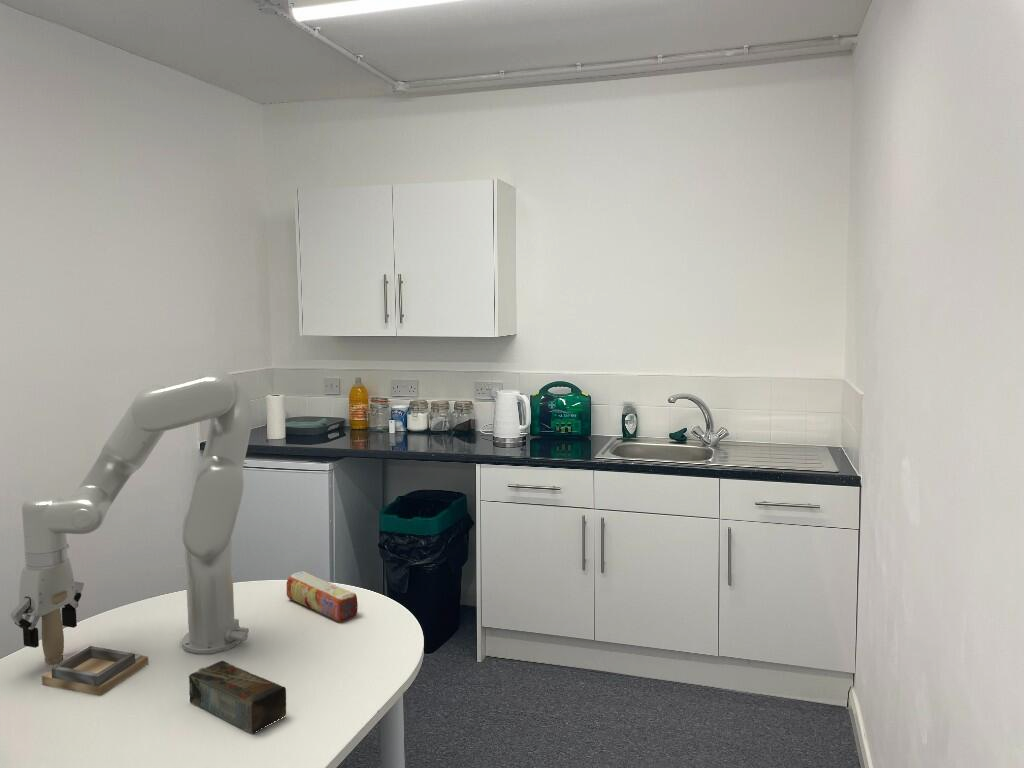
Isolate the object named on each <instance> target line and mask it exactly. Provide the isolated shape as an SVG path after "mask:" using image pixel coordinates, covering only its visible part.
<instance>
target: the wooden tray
mask: <svg viewBox="0 0 1024 768" xmlns="http://www.w3.org/2000/svg"><path fill="white" fill-rule="evenodd" d="M146 665H147V666H148V665H149V656H147V655H142V654H138V653H135V652H129V651H123V650H117V649H111V648H106V647H105V648H104V647H98V646H92V645H90V646H88V647H85V649H82V650H80V651H79V652H78V653H77V652H76V654H74V655H73V656H69V658H67V659H64V660H63V661H62V662H60V663H59V664H55V666H53V667H51V668H50V669H51V670H50V671H48V672H46V673H44V674H43V675H41V685H43V686H49V687H51V688H52V687H53V688H58V689H63V690H64V689H65V690H67V691H68V690H69V691H73V692H80V693H84V694H91V695H96V696H103V695H104V694H105V693H107V692H108V691H110V690H112V689H113V688H115V687H116V686H118V685H119V684H121V683H122V682H124V681H125V680H127V679H128V678H130V677H131V676H133V675H135V674H136V673H138V672H140V671H141V670H143V669H144V668H145V667H147V666H146Z"/></svg>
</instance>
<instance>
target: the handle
mask: <svg viewBox="0 0 1024 768" xmlns="http://www.w3.org/2000/svg"><path fill="white" fill-rule="evenodd" d="M66 598H67V591H65V592H63V593H61V594H59V595H57V596H55V597H53V598H52V604H55V605H57V604H59V603H61V602H62V601H64V600H65V599H66ZM63 627H64V626H63V625H62V611H61V608H58V609H56V610H54V611H52V612H50V613H48V614H46V615H44V616H41V643H42V644H41V645H42V646H41V647H42V651H43V652H42V653H43V655H44V661H45V663H46V664H47V665H48V666H53V665H58V664H60V663H61V662H63V661H64V657H65V656H64V649H65V647H64V646H65V637H64V635H65V633H64V628H63Z"/></svg>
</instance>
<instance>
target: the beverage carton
mask: <svg viewBox="0 0 1024 768" xmlns="http://www.w3.org/2000/svg"><path fill="white" fill-rule="evenodd" d="M188 675H189V676H188V685H189V688H188V689H189V691H188V692H189V693H188V695H189V703H190V704H192V705H194V706H197V707H198V708H200V709H202V710H203V709H204V711H205V710H206V711H205V712H207V711H208V712H207V713H210V714H212V715H214V716H216V717H218V718H219V719H221V720H223V721H226V722H229V723H230V724H232V725H233V726H234V725H235V726H236V727H238V728H240V727H241V729H242V730H244V729H245V730H244V731H246V730H247V731H246V732H249V733H250V732H251V733H250V734H252V733H254V734H256V733H257V732H256V731H258V730H260V729H261V728H263V729H265V728H266V727H265V726H267V725H269V724H271V723H273V722H274V721H277V720H278V719H281V718H282V717H284V716H285V715H286V716H287V689H286V686H282V685H280V684H279V683H276V682H273V681H271V680H269V679H266V678H264V677H261V676H259V675H256V674H253V673H251V672H249V671H248V670H244V669H243V668H240V667H239V666H235V665H233V664H230V663H229V662H228V661H224V660H220V661H217V662H214V663H213V664H211V665H209V666H206V667H201V668H199V669H198V670H197V671H194V672H192V673H190V674H188ZM281 720H282V719H281ZM277 722H278V721H277ZM273 724H274V723H273ZM269 726H270V725H269ZM264 727H265V728H264ZM267 727H268V726H267ZM260 731H261V730H260ZM255 732H256V733H255ZM258 732H259V731H258Z"/></svg>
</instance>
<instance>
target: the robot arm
mask: <svg viewBox="0 0 1024 768" xmlns="http://www.w3.org/2000/svg"><path fill="white" fill-rule="evenodd" d="M208 420H210V421H209V427H208V432H207V436H206V441H205V445H204V450H203V454H202V457H201V460H200V463H199V466H198V468H197V470H196V473H195V481H194V486H193V491H192V495H191V500H190V503H189V508H188V510H187V511H186V513H185V515H184V517H183V523H182V534H181V537H182V538H181V539H182V545H183V546H184V557H185V584H186V604H187V605H186V606H187V625H188V626H187V627H188V632H187V633H185V634H184V635H183V636H182V638H181V641H180V644H181V647H182V649H183V650H184V651H186V652H188V653H193V654H199V655H200V654H203V655H204V654H205V655H207V654H215V653H219V652H223V651H228V650H229V649H231V648H233V647H235V646H236V645H238V644H239V643H241V642H246V641H247V639H248V636H249V635H248V634H249V633H250V629H249V628H248V627H240V620H239V619H238V618H235V599H234V578H233V577H234V575H233V570H234V567H233V548H232V547H233V545H232V541H233V539H232V537H233V533H234V530H235V526H236V522H237V517H238V513H239V510H240V507H241V503H242V498H243V494H244V493H243V492H244V487H245V486H244V485H245V484H244V483H245V482H244V470H243V469H244V465H245V464H244V463H245V459H246V456H247V455H246V454H247V452H248V447H249V442H250V441H249V440H250V435H251V431H252V427H253V426H252V425H253V411H252V405H251V401H250V399H249V396H248V394H247V392H246V391H245V389H244V387H243V386H242V384H241V383H240V382H238V380H237V379H236V378H234V377H233V376H232V375H231V374H230V373H228V372H226V371H224V370H220V369H217V368H213V369H212V368H210V369H207V370H204V371H202V372H201V373H200V374H198V375H197V377H196V378H195V380H190V381H187V382H183V383H179V384H176V385H172V386H168V387H167V386H164V385H162V384H161V385H160V384H150V385H148V386H145V387H144V388H143V389H141V390H140V392H138V394H137V395H136V396H135V398H134V399H133V401H132V402H131V404H130V406H129V407H128V408H127V410H126V411H125V413H124V415H123V416H122V418H121V419H120V421H119V422H118V423H117V425H116V426H115V428H114V429H113V431H112V432H111V433H110V435H109V437H108V438H107V440H106V441H105V443H104V444H103V446H102V448H101V450H100V453H99V455H98V457H97V459H96V460H95V462H94V463H93V465H92V467H91V468H90V470H89V471H88V472H87V474H86V476H85V477H84V479H83V480H82V482H81V483H80V485H79V486H78V488H77V489H76V490H75V491H74V494H73V495H72V496H71V498H70V499H66V500H64V499H63V497H61V496H59V495H57V494H56V495H55V494H40V495H36V496H32V497H29V498H27V499H26V500H25V501H24V502H23V503H22V506H21V512H22V529H23V531H22V532H23V533H22V534H23V547H24V548H23V549H24V563H25V564H24V565H25V566H23V567H22V569H21V573H20V579H19V589H18V595H19V596H18V605H17V606H16V607H15V608H14V609H13V610H12V611H11V612H10V617H11V619H12V620H13V622H14V624H15V625H16V626H18V627H19V628H20V629H22V636H23V637H22V638H23V645H24V647H30V648H34V649H36V648H38V647H39V645H40V641H39V638H40V637H39V629H38V628H37V627H36V626H37V624H38V622H39V620H40V618H42V616H44V615H46V614H48V613H50V612H52V611H54V610H56V609H58V608H60V609H61V620H62V627H67V628H71V629H72V628H73V629H74V628H76V627H77V626H78V625H77V624H78V623H77V608H78V607H79V602H80V599H81V598H82V592H83V589H84V586H85V584H84V582H80V581H75V580H74V579H75V578H74V573H73V568H72V567H73V566H72V564H71V560H70V557H68V550H69V548H70V545H69V543H67V534H71V535H86V534H91V533H93V532H96V531H97V530H98V529H99V528H100V527H102V524H103V522H104V520H105V518H106V515H107V513H108V511H109V509H110V507H111V506H112V504H113V503H114V501H115V499H116V498H117V497H118V495H119V494H120V492H121V490H123V488H124V486H125V485H126V484H127V482H128V480H129V479H130V478H131V476H133V474H134V473H136V472H137V471H138V470H139V469H141V468H142V466H143V465H144V464H145V463H146V461H147V460H148V458H149V457H150V455H151V454H152V452H153V450H154V449H155V447H156V446H157V444H158V443H159V441H160V440H161V438H162V436H163V435H164V434H165V432H166V431H171V430H175V429H179V428H182V427H187V426H189V425H193V424H197V423H201V422H203V421H204V422H205V421H208ZM65 591H67V598H66V599H65V600H64V601H62V602H61V603H59V604H57V605H55V604H52V598H53V597H55V596H57V595H59V594H61V593H63V592H65ZM31 617H32V618H31ZM30 619H31V620H30Z"/></svg>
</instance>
